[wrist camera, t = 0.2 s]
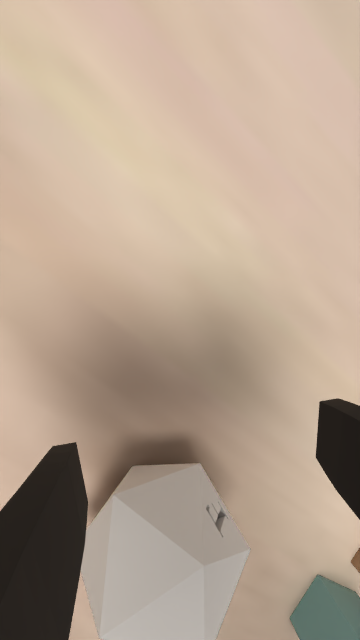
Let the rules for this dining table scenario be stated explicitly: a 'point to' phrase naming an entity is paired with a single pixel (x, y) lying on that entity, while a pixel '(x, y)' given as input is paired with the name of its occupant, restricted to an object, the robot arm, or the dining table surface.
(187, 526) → the die
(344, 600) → the teal block
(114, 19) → the dining table surface
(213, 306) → the dining table surface
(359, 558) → the walnut slab
